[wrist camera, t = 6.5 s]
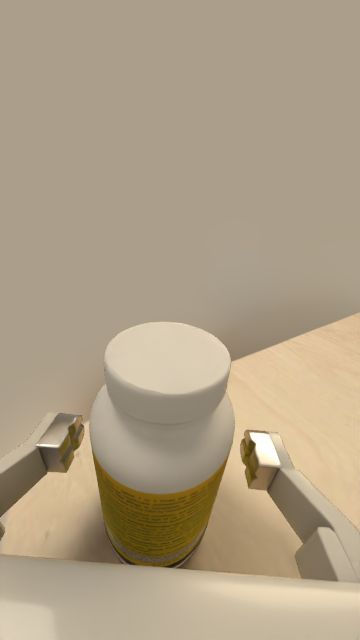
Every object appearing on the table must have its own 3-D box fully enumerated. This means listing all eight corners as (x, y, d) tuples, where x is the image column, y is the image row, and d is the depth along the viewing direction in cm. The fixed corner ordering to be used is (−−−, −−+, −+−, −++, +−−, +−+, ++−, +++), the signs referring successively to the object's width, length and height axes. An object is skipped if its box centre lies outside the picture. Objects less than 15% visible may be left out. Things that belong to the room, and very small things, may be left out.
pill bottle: (229, 530, 11) (297, 380, 6) (116, 620, 8) (84, 472, 3) (179, 434, 16) (196, 308, 11) (98, 469, 13) (74, 323, 8)
